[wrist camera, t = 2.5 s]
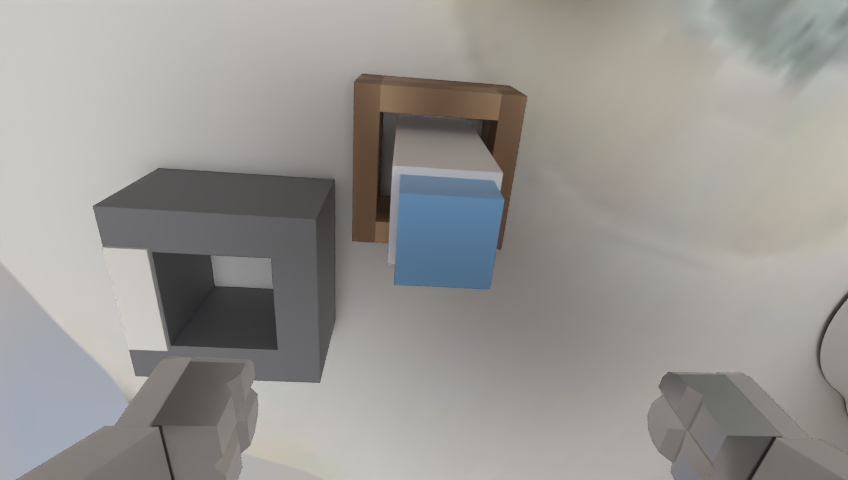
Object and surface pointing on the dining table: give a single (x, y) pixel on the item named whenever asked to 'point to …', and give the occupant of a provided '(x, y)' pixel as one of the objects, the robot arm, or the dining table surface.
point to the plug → (443, 205)
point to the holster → (437, 99)
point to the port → (193, 279)
